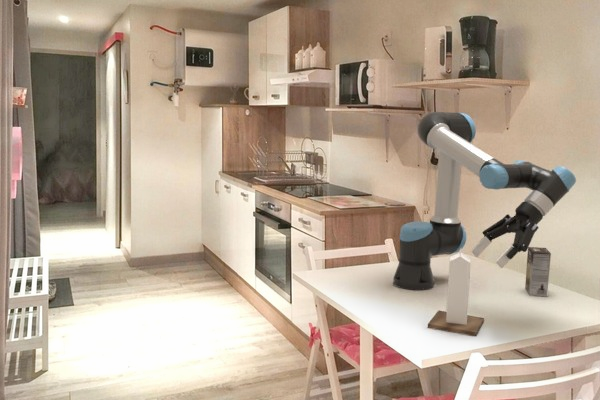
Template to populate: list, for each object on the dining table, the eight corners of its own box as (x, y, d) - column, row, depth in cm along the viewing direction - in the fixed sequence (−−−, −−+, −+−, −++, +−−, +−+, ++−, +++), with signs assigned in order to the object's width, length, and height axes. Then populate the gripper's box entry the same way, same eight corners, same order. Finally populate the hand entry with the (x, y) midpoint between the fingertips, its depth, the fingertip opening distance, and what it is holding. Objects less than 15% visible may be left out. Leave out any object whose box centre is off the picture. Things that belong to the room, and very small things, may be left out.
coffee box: (524, 288, 209) (527, 246, 206) (542, 289, 207) (545, 247, 205) (529, 295, 200) (532, 251, 198) (548, 297, 198) (551, 252, 196)
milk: (446, 322, 166) (449, 250, 164) (446, 316, 172) (450, 246, 169) (467, 325, 165) (471, 252, 162) (467, 318, 170) (471, 248, 168)
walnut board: (427, 327, 165) (427, 323, 165) (438, 313, 178) (438, 310, 178) (476, 336, 159) (476, 332, 159) (483, 321, 172) (484, 317, 171)
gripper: (568, 224, 157) (517, 278, 156) (516, 211, 182) (471, 257, 180) (553, 206, 156) (502, 261, 154) (502, 195, 180) (457, 242, 178)
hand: (485, 259), depth 167 cm, fingers open, 13 cm apart
